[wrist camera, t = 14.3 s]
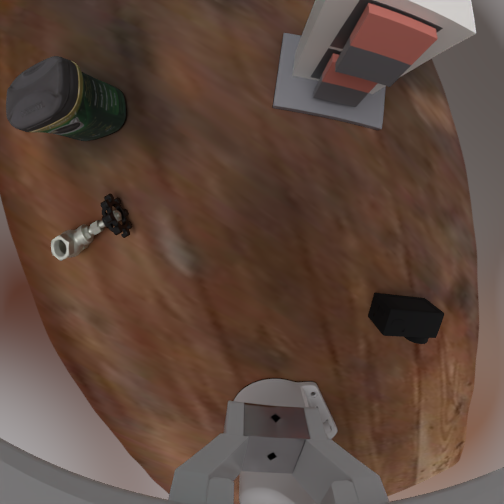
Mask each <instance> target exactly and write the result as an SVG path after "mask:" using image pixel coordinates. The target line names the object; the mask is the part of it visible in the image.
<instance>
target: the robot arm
mask: <svg viewBox="0 0 504 504" xmlns="http://www.w3.org/2000/svg"><path fill="white" fill-rule="evenodd" d="M312 392H314V393H312ZM336 433H337V426H336V424H335V422H334V420H333V418H332V416H331V413H330V411H329V409H328V407H327V405H326V403H325V401H324V398H323V396H322V394H321V392H320V390H319V388H318V386H317V384H316V383H315V382H299V383H298V382H293V381H289V380H284V379H266V380H261V381H258V382H255V383H252V384H250V385H248V386H247V387H245V388H244V389H243V390H241V391H240V392H239V393H238V395H237V396H236V397H235V399H234V401H228V406H227V412H226V419H225V426H224V433H223V434H222V433H221V434H219V435H218V436H217V437H216V438H215V439H213V440H212V441H211V442H210V443H209V444H207V445H206V446H205V447H204V448H202V449H201V450H200V451H199V452H197V453H196V454H195V455H194V456H192V457H191V458H190V459H189V460H187V461H186V462H185V463H183V464H182V465H181V466H179V467H178V468H177V469H176V470H175V473H174V478H173V482H172V486H171V490H170V495H169V499H168V500H166V499H161V498H156V497H152V496H148V495H143V494H140V493H136V492H132V491H128V490H125V489H121V488H118V487H114V486H111V485H108V484H105V483H101V482H98V481H95V480H92V479H90V478H87V477H84V476H81V475H78V474H76V473H73V472H70V471H68V470H66V469H63V468H61V467H58V466H56V465H54V464H51V463H49V462H47V461H45V460H42V459H40V458H38V457H36V456H34V455H32V454H30V453H27V452H26V451H24V450H22V449H20V448H18V447H16V446H14V445H12V444H10V443H8V442H6V441H5V440H3V439H1V438H0V504H233V501H234V482H233V481H234V480H235V479H236V477H237V476H238V475H239V474H240V479H239V502H240V504H504V467H503V468H501V469H498V470H496V471H493V472H491V473H488V474H486V475H483V476H480V477H478V478H475V479H472V480H469V481H467V482H464V483H461V484H458V485H455V486H451V487H448V488H445V489H441V490H438V491H434V492H431V493H427V494H423V495H419V496H415V497H410V498H406V499H401V500H396V501H392V502H389V500H388V497H387V494H386V492H385V489H384V487H383V484H382V481H381V479H380V476H379V475H377V474H376V473H375V472H373V471H372V470H371V469H369V468H368V467H367V466H365V465H364V464H362V463H361V462H360V461H358V460H357V459H356V458H354V457H353V456H352V455H351V454H349V453H348V452H347V451H345V450H344V449H343V448H341V447H340V446H339V445H338V444H336V443H335V442H334V441H333V440H331V439H332V438H333V437H334V436H335V435H336Z"/></svg>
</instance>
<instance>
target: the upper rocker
mask: <svg viewBox="0 0 504 504" xmlns="http://www.w3.org/2000/svg"><path fill="white" fill-rule="evenodd" d="M437 39H438V38H437V33H436V29H435V28H433V27H431V26H428V25H426V24H424V23H422V22H419V21H417V20H414V19H412V18H409V17H407V16H404V15H402V14H399V13H397V12H394V11H391V10H388V9H385V8H383V7H380V6H377V5H374V4H370V3H368V4H367V6H366V8H365V10H364V12H363V13H362V15H361V17H360V19H359V21H358V22H357V24H356V26H355V28H354V30H353V32H352V33H351V35H350V37H349V39H348V41H347V43H346V44H345V46H344V48H343V50H342V52H341V53H340V55H339V57H338V59H337V61H336V65H335V72H338V73H343V74H346V75H350V76H354V77H358V78H362V79H365V80H369V81H372V82H375V83H379V84H382V85H385V86H388V87H390V86H391V85H392V84H393V83H394V82H395V81H396V80H397V79H398V78H399V77H400V76H401V75H402V74H403V73H404V72H405V71H406V70H407V69H408V68H409V67H410V66H411V65H412V64H413V63H414V62H415V61H416V60H417V59H418V58H419V57H420V56H421V55H422V54H423V53H424V52H425V51H426V50H427V49H428V48H429V47H430V46H431V45H432V44H433V43H434V42H435V41H436V40H437Z"/></svg>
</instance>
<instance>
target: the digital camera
mask: <svg viewBox="0 0 504 504" xmlns="http://www.w3.org/2000/svg"><path fill="white" fill-rule="evenodd" d="M373 315H374V316H373ZM443 316H444V313H443V312H442V311H441V310H439V309H438V308H437V307H435V306H434V305H433V304H431V303H430V302H429V301H428V300H426V299H425V298H417V297H408V296H399V295H390V294H381V293H374V297H373V300H372V304H371V307H370V311H369V314H368V317H369V318H370V319H371V321H372V322H373V323H374V324H375V326H376V327H377V328H378V329H379V331H380V332H381V333H382V334H383V335H385V336H404V337H405V338H406V339H408V340H409V341H411V342H414V343H418V344H425V343H427V341H428V338H436V336H437V333H438V331H439V328H440V325H441V322H442V319H443Z"/></svg>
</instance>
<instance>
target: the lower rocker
mask: <svg viewBox="0 0 504 504" xmlns="http://www.w3.org/2000/svg"><path fill="white" fill-rule="evenodd" d="M338 57H339V55H338V54H334V53H333V54H332V56H331V58H330V60H329V62H328V64H327V66H326V68H325V70H324V71H323V73H322V75H321V77H320V79H319V81H318V83H317V85H316V87H315V89H314V95H313V98H318V99H323V100H327V101H332V102H336V103H340V104H345V105H349V106H353V107H356V106H357V105H358V104H359V103H360V102H361V101H362V100H363V99H364V98H365V96H366V95H367V94H368V93H369V92H370V91H371V90H372V89H373V88H374V87H375V86H376V85H377V84H378V83H375V82H372V81H369V80H365V79H362V78H358V77H354V76H350V75H346V74H343V73H338V72H335V65H336V61H337V59H338Z"/></svg>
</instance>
